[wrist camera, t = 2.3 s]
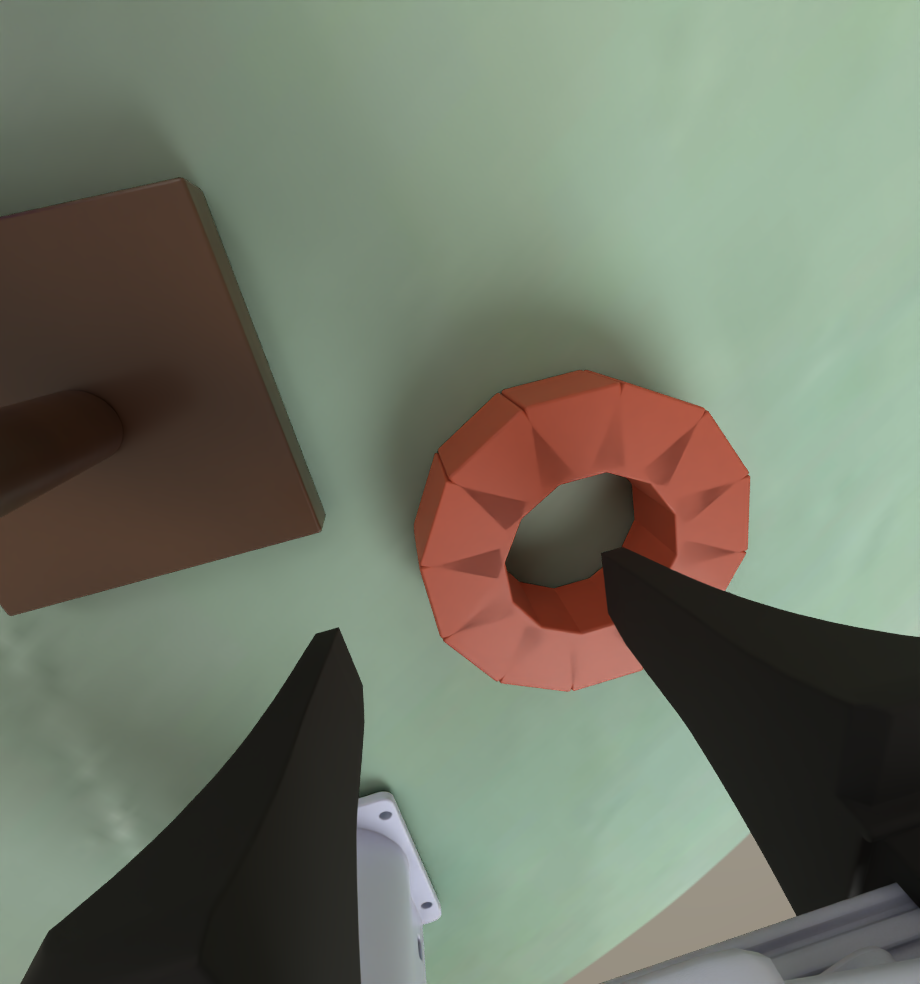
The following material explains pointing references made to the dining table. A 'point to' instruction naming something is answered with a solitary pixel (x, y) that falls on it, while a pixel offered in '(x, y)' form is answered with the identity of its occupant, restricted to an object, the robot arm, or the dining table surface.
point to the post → (133, 401)
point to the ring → (533, 476)
